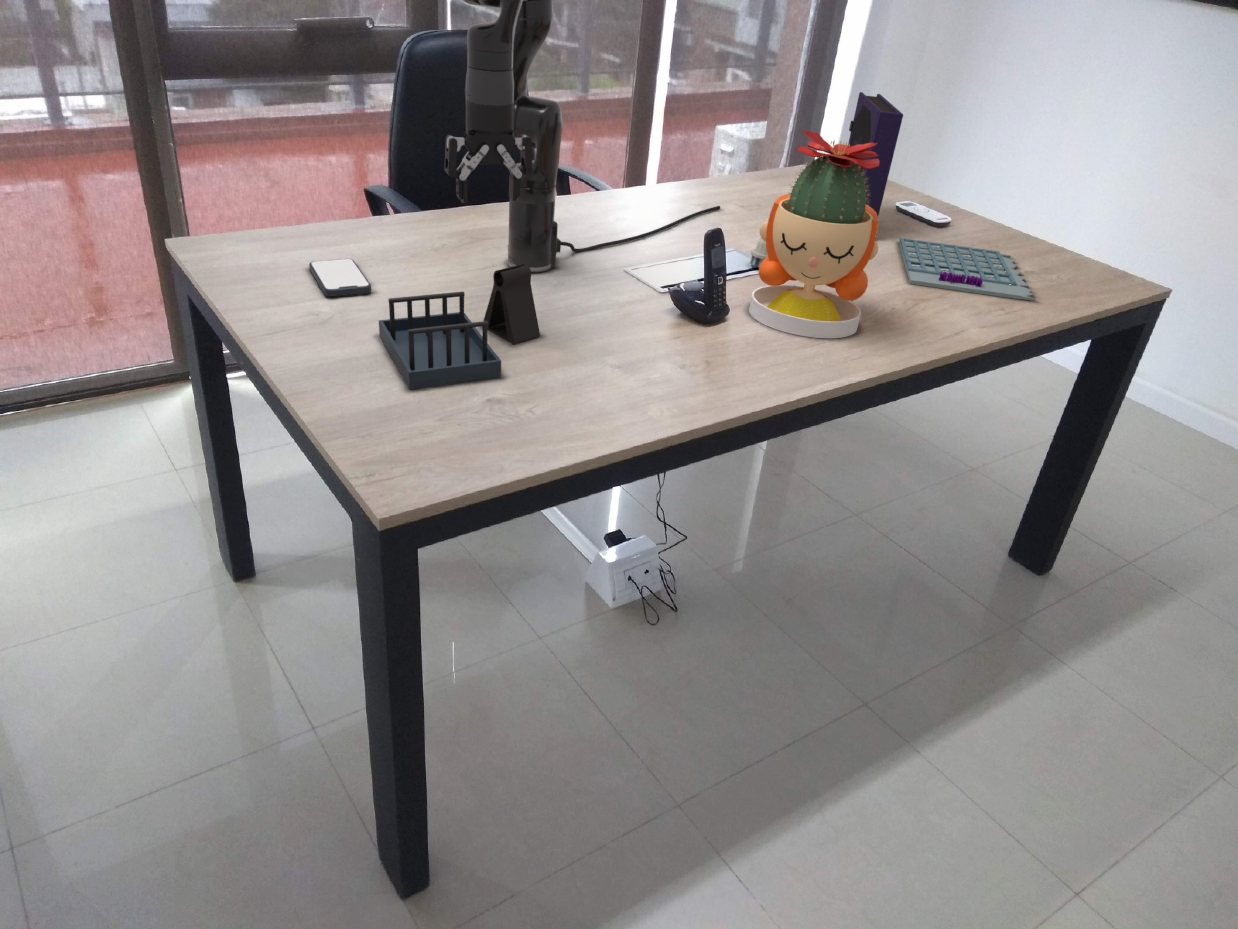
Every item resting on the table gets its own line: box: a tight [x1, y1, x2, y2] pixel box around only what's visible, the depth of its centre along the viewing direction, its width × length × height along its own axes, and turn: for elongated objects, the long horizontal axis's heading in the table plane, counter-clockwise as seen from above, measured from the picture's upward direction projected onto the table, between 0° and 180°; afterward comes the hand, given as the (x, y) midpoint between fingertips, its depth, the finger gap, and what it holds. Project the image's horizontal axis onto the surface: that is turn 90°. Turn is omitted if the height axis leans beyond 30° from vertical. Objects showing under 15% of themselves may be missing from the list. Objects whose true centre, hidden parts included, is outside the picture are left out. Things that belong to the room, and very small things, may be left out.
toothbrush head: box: [749, 237, 768, 268], centre depth 207 cm, size 5×7×25 cm
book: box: [847, 91, 904, 217], centre depth 227 cm, size 24×6×30 cm, turn 179°
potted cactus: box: [748, 129, 879, 339], centre depth 172 cm, size 22×22×35 cm
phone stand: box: [483, 264, 541, 345], centre depth 160 cm, size 9×6×12 cm, turn 44°
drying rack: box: [378, 291, 502, 390], centre depth 150 cm, size 15×20×8 cm
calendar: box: [898, 237, 1037, 302], centre depth 212 cm, size 27×29×2 cm
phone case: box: [308, 258, 372, 297], centre depth 175 cm, size 9×2×16 cm
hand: (488, 200), depth 151 cm, fingers open, 8 cm apart
